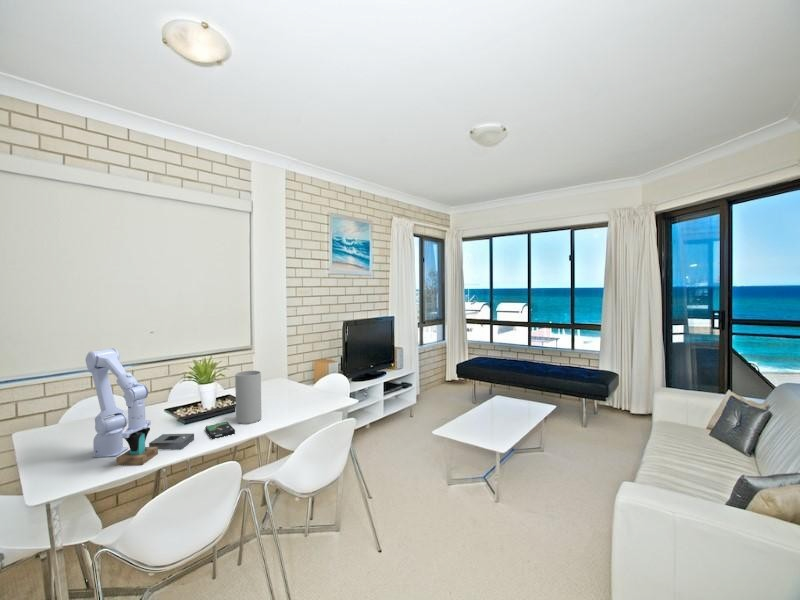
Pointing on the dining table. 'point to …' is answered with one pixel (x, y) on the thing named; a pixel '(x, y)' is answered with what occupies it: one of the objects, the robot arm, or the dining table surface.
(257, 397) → the cylinder vase
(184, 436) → the port block
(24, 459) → the dining table surface
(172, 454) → the dining table surface
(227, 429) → the disk drive
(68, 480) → the dining table surface
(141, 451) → the plug
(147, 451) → the tan square ring
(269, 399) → the dining table surface
